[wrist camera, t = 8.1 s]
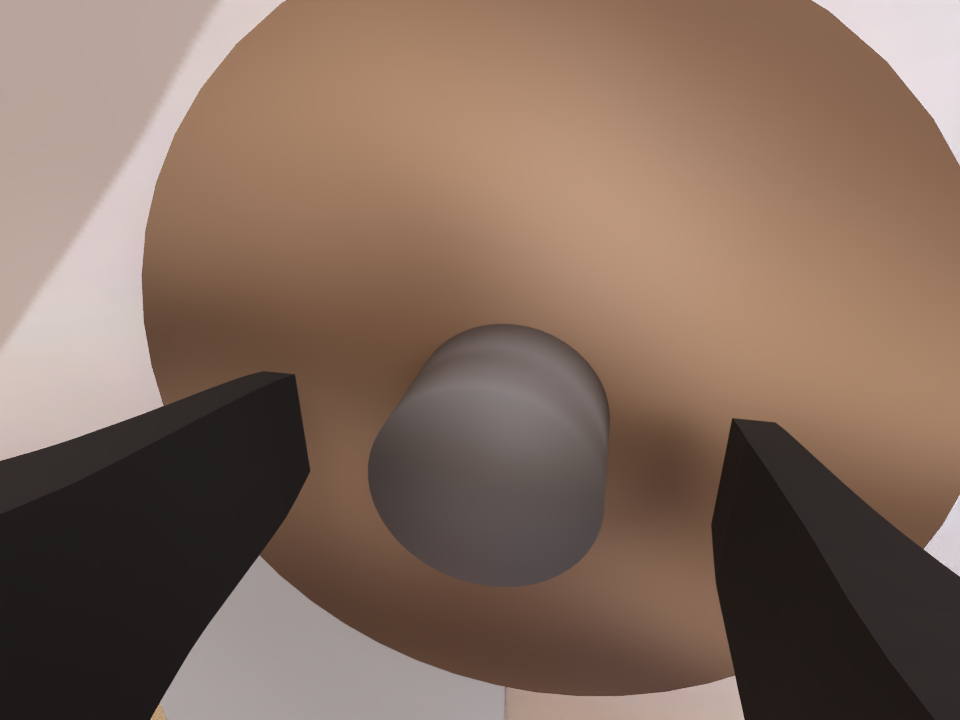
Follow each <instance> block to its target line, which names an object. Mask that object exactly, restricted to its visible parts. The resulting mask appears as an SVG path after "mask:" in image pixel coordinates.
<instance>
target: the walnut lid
mask: <svg viewBox="0 0 960 720" xmlns="http://www.w3.org/2000/svg"><path fill="white" fill-rule="evenodd" d="M142 290H143V311H144V324H145V330H146V336H147V342H148V347H149V353H150V359H151V365H152V368H153V371H154V375H155V378H156V381H157V385H158V388H159V392H160V395H161V398H162V402H163V405H164V406H165V405H168V404H171V403H173V402H176V401H178V400H181V399H184V398H186V397H189V396H191V395H194V394H196V393H199V392H202V391H204V390H207V389H209V388H212V387H215V386H218V385H220V384H223V383H226V382H229V381H231V380H234V379H237V378H240V377H243V376H247V375H250V374H254V373H258V372H262V371H268V372H278V373H288V374H295V377H296V383H297V389H298V396H299V402H300V408H301V415H302V421H303V427H304V433H305V440H306V446H307V452H308V459H309V465H310V473H309V475H308V477H307V479H306V481H305V483H304V485H303V487H302V489H301V491H300V493H299V495H298V497H297V499H296V501H295V502H294V504H293V506H292V508H291V510H290V511H289V513H288V515H287V517H286V519H285V520H284V521H283V523H282V524H281V526H280V527H279V529H278V530H277V531H276V533H275V534H274V536H273V537H272V538H271V540H270V541H269V543H268V544H267V545H266V547H265V548H264V549H263V551H262V552H261V554H260V556H261V557H262V558H263V559H264V560H265V561H266V562H267V563H268V564H269V565H270V566H271V567H272V568H273V569H274V570H275V571H276V572H277V573H278V574H279V575H280V576H281V577H283V578H284V579H285V580H286V581H287V582H289V583H290V584H291V585H292V586H294V587H295V588H296V589H297V590H298V591H300V592H301V593H302V594H303V595H305V596H306V597H307V598H308V599H309V600H311V601H312V602H314V603H315V604H316V605H318V606H319V607H321V608H322V609H324V610H325V611H327V612H328V613H330V614H331V615H333V616H334V617H336V618H337V619H338V620H340V621H341V622H343V623H344V624H346V625H348V626H350V627H351V628H353V629H355V630H357V631H359V632H360V633H362V634H364V635H366V636H367V637H369V638H371V639H373V640H374V641H376V642H378V643H380V644H382V645H384V646H386V647H389V648H391V649H393V650H395V651H397V652H399V653H402V654H404V655H406V656H408V657H410V658H413V659H415V660H417V661H420V662H423V663H425V664H428V665H431V666H434V667H437V668H439V669H442V670H445V671H448V672H450V673H453V674H456V675H460V676H464V677H468V678H471V679H475V680H479V681H483V682H486V683H490V684H494V685H499V686H504V687H510V688H516V689H521V690H527V691H533V692H541V693H552V694H563V695H574V696H624V695H635V694H646V693H656V692H666V691H671V690H676V689H681V688H686V687H692V686H697V685H702V684H707V683H711V682H714V681H717V680H721V679H724V678H727V677H731V676H734V675H735V672H734V668H733V663H732V658H731V654H730V649H729V644H728V640H727V635H726V631H725V626H724V621H723V616H722V612H721V607H720V602H719V597H718V592H717V587H716V580H715V569H714V558H713V544H712V530H711V523H712V518H713V513H714V508H715V503H716V498H717V493H718V488H719V483H720V478H721V473H722V467H723V462H724V457H725V452H726V447H727V442H728V437H729V432H730V427H731V422H732V418H737V419H747V420H757V421H767V422H776V423H777V424H778V425H780V426H781V427H782V428H783V429H785V430H786V431H787V432H788V433H789V434H790V435H791V436H793V437H794V438H795V439H796V440H797V441H798V442H799V443H800V444H801V445H802V446H803V447H805V448H806V449H807V450H808V451H809V452H810V453H811V454H812V455H813V456H814V457H815V458H817V459H818V460H819V461H820V462H821V463H822V464H823V465H824V466H825V467H826V468H827V469H828V470H830V471H831V472H832V473H833V474H834V475H835V476H836V477H837V478H838V479H840V480H841V481H842V482H843V483H844V484H845V485H846V486H847V487H849V488H850V489H851V490H852V491H853V492H854V493H855V494H856V495H858V496H859V497H860V498H861V499H862V500H863V501H865V502H866V503H867V504H868V505H869V506H870V507H872V508H873V509H874V510H875V511H876V512H877V513H879V514H880V515H881V516H882V517H883V518H885V519H886V520H887V521H888V522H889V523H891V524H892V525H893V526H894V527H896V528H897V529H898V530H899V531H901V532H902V533H903V534H904V535H906V536H907V537H908V538H910V539H911V540H912V541H913V542H915V543H916V544H917V545H918V546H920V547H921V548H922V549H924V548H925V546H926V545H927V544H928V543H929V541H930V540H931V539H932V537H933V536H934V535H935V534H936V532H937V531H938V530H939V529H940V527H941V526H942V525H943V523H944V521H945V519H946V518H947V516H948V514H949V512H950V511H951V509H952V507H953V505H954V503H955V502H956V500H957V498H958V496H959V495H960V166H959V164H958V162H957V160H956V158H955V157H954V155H953V153H952V151H951V149H950V148H949V146H948V144H947V142H946V141H945V139H944V137H943V135H942V133H941V132H940V130H939V128H938V126H937V124H936V123H935V121H934V119H933V118H932V117H931V115H930V114H929V113H928V112H927V110H926V109H925V108H924V107H923V106H922V104H921V103H920V102H919V101H918V99H917V98H916V97H915V96H914V95H913V93H912V92H911V91H910V90H909V88H908V87H907V86H906V85H905V83H904V82H903V81H902V80H901V79H900V77H899V76H898V75H897V74H896V72H895V71H894V70H893V69H892V68H891V66H890V65H889V64H888V63H887V61H885V60H884V59H883V58H882V57H881V56H880V55H879V54H877V53H876V52H875V51H874V50H873V49H872V48H871V47H869V46H868V45H867V44H866V43H865V42H864V41H863V40H861V39H860V38H859V37H858V36H857V35H856V34H855V33H853V32H852V31H851V30H850V29H849V28H848V27H846V26H845V25H844V24H843V23H842V22H841V21H840V20H838V19H837V18H836V17H835V16H834V15H833V14H832V13H830V12H829V11H828V10H826V9H825V8H823V7H821V6H820V5H818V4H816V3H815V2H813V1H812V0H286V1H285V2H283V3H282V4H280V5H279V6H278V7H277V8H276V9H275V10H274V11H273V12H271V13H270V14H269V15H268V16H267V17H266V18H265V19H264V20H263V21H261V22H260V23H259V24H258V25H257V26H256V27H255V28H254V29H253V30H252V31H250V32H249V33H248V34H247V35H246V36H245V37H244V38H243V39H242V40H241V41H239V42H238V43H237V44H236V45H235V47H234V48H233V49H232V50H231V52H230V53H229V54H228V55H227V57H226V58H225V59H224V60H223V62H222V63H221V64H220V65H219V67H218V68H217V69H216V70H215V72H214V73H213V74H212V75H211V77H210V78H209V79H208V80H207V82H206V83H205V84H204V85H203V87H202V88H201V90H200V91H199V93H198V95H197V97H196V98H195V100H194V102H193V104H192V105H191V107H190V109H189V111H188V112H187V114H186V116H185V118H184V119H183V121H182V123H181V125H180V126H179V128H178V130H177V132H176V133H175V135H174V138H173V140H172V143H171V146H170V148H169V151H168V153H167V156H166V159H165V161H164V164H163V166H162V169H161V172H160V174H159V177H158V179H157V182H156V186H155V191H154V195H153V200H152V204H151V208H150V213H149V217H148V222H147V226H146V232H145V244H144V256H143V268H142Z"/></svg>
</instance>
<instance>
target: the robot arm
mask: <svg viewBox="0 0 960 720" xmlns="http://www.w3.org/2000/svg"><path fill="white" fill-rule="evenodd" d="M309 473H310V465H309V459H308V452H307V446H306V440H305V433H304V427H303V421H302V415H301V408H300V402H299V396H298V389H297V383H296V377H295V374H288V373H278V372H268V371H262V372H258V373H254V374H250V375H247V376H243V377H240V378H237V379H234V380H231V381H229V382H226V383H223V384H220V385H218V386H215V387H212V388H209V389H207V390H204V391H202V392H199V393H196V394H194V395H191V396H189V397H186V398H184V399H181V400H178V401H176V402H173V403H171V404H168V405H165V406H163V407H160V408H158V409H155V410H152V411H150V412H147V413H145V414H142V415H139V416H137V417H134V418H131V419H128V420H125V421H123V422H120V423H117V424H114V425H111V426H109V427H106V428H103V429H100V430H97V431H95V432H92V433H89V434H86V435H83V436H81V437H78V438H75V439H72V440H69V441H66V442H63V443H60V444H57V445H53V446H50V447H47V448H44V449H40V450H37V451H34V452H30V453H27V454H23V455H20V456H16V457H13V458H9V459H6V460H2V461H0V720H150V719H151V717H152V715H153V714H154V712H155V710H156V708H157V706H158V705H159V703H160V701H161V700H162V698H163V696H164V695H165V693H166V691H167V690H168V688H169V686H170V685H171V683H172V681H173V679H174V678H175V676H176V674H177V673H178V671H179V669H180V668H181V666H182V664H183V663H184V661H185V659H186V658H187V656H188V654H189V653H190V651H191V649H192V648H193V646H194V645H195V643H196V642H197V641H198V639H199V638H200V636H201V635H202V633H203V632H204V630H205V629H206V627H207V626H208V624H209V623H210V622H211V620H212V619H213V618H214V616H215V615H216V613H217V612H218V611H219V609H220V608H221V607H222V605H223V604H224V603H225V601H226V600H227V598H228V597H229V596H230V594H231V593H232V592H233V590H234V589H235V588H236V586H237V585H238V584H239V582H240V581H241V579H242V578H243V577H244V575H245V574H246V573H247V571H248V570H249V569H250V567H251V566H252V565H253V563H254V562H255V560H256V559H257V558H258V556H259V555H260V554H261V552H262V551H263V549H264V548H265V547H266V545H267V544H268V543H269V541H270V540H271V538H272V537H273V536H274V534H275V533H276V531H277V530H278V529H279V527H280V526H281V524H282V523H283V521H284V520H285V519H286V517H287V515H288V513H289V511H290V510H291V508H292V506H293V504H294V502H295V501H296V499H297V497H298V495H299V493H300V491H301V489H302V487H303V485H304V483H305V481H306V479H307V477H308V475H309ZM711 530H712V544H713V558H714V569H715V580H716V587H717V592H718V597H719V602H720V607H721V612H722V616H723V621H724V626H725V631H726V635H727V640H728V644H729V649H730V654H731V658H732V663H733V668H734V672H735V677H736V681H737V686H738V691H739V695H740V700H741V704H742V709H743V714H744V718H745V720H960V577H959V576H958V575H957V574H955V573H954V572H952V571H951V570H950V569H948V568H947V567H946V566H944V565H943V564H942V563H940V562H939V561H938V560H936V559H935V558H934V557H932V556H931V555H930V554H929V553H927V552H926V551H925V550H924V549H922V548H921V547H920V546H918V545H917V544H916V543H915V542H913V541H912V540H911V539H910V538H908V537H907V536H906V535H904V534H903V533H902V532H901V531H899V530H898V529H897V528H896V527H894V526H893V525H892V524H891V523H889V522H888V521H887V520H886V519H885V518H883V517H882V516H881V515H880V514H879V513H877V512H876V511H875V510H874V509H873V508H872V507H870V506H869V505H868V504H867V503H866V502H865V501H863V500H862V499H861V498H860V497H859V496H858V495H856V494H855V493H854V492H853V491H852V490H851V489H850V488H849V487H847V486H846V485H845V484H844V483H843V482H842V481H841V480H840V479H838V478H837V477H836V476H835V475H834V474H833V473H832V472H831V471H830V470H828V469H827V468H826V467H825V466H824V465H823V464H822V463H821V462H820V461H819V460H818V459H817V458H815V457H814V456H813V455H812V454H811V453H810V452H809V451H808V450H807V449H806V448H805V447H803V446H802V445H801V444H800V443H799V442H798V441H797V440H796V439H795V438H794V437H793V436H791V435H790V434H789V433H788V432H787V431H786V430H785V429H783V428H782V427H781V426H780V425H778V424H777V423H776V422H767V421H757V420H747V419H737V418H732V422H731V427H730V432H729V437H728V442H727V447H726V452H725V457H724V462H723V467H722V473H721V478H720V483H719V488H718V493H717V498H716V503H715V508H714V513H713V518H712V523H711Z"/></svg>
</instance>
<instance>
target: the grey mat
mask: <svg viewBox="0 0 960 720" xmlns="http://www.w3.org/2000/svg"><path fill="white" fill-rule="evenodd" d="M505 701H506V687H504V686H499V685H494V684H490V683H486V682H483V681H479V680H475V679H471V678H468V677H464V676H460V675H456V674H453V673H450V672H448V671H445V670H442V669H439V668H437V667H434V666H431V665H428V664H425V663H423V662H420V661H417V660H415V659H413V658H410V657H408V656H406V655H404V654H402V653H399V652H397V651H395V650H393V649H391V648H389V647H386V646H384V645H382V644H380V643H378V642H376V641H374V640H373V639H371V638H369V637H367V636H366V635H364V634H362V633H360V632H359V631H357V630H355V629H353V628H351V627H350V626H348V625H346V624H344V623H343V622H341V621H340V620H338V619H337V618H336V617H334V616H333V615H331V614H330V613H328V612H327V611H325V610H324V609H322V608H321V607H319V606H318V605H316V604H315V603H314V602H312V601H311V600H309V599H308V598H307V597H306V596H305V595H303V594H302V593H301V592H300V591H298V590H297V589H296V588H295V587H294V586H292V585H291V584H290V583H289V582H287V581H286V580H285V579H284V578H283V577H281V576H280V575H279V574H278V573H277V572H276V571H275V570H274V569H273V568H272V567H271V566H270V565H269V564H268V563H267V562H266V561H265V560H264V559H263V558H262V557H261V556H260V555H259V556H258V558H257V559H256V560H255V562H254V563H253V565H252V566H251V567H250V569H249V570H248V571H247V573H246V574H245V575H244V577H243V578H242V579H241V581H240V582H239V584H238V585H237V586H236V588H235V589H234V590H233V592H232V593H231V594H230V596H229V597H228V598H227V600H226V601H225V603H224V604H223V605H222V607H221V608H220V609H219V611H218V612H217V613H216V615H215V616H214V618H213V619H212V620H211V622H210V623H209V624H208V626H207V627H206V629H205V630H204V632H203V633H202V635H201V636H200V638H199V639H198V641H197V642H196V643H195V645H194V646H193V648H192V649H191V651H190V653H189V654H188V656H187V658H186V659H185V661H184V663H183V664H182V666H181V668H180V669H179V671H178V673H177V674H176V676H175V678H174V679H173V681H172V683H171V685H170V686H169V688H168V690H167V691H166V693H165V695H164V696H163V698H162V700H161V701H160V703H161V706H162V708H163V711H164V714H165V717H166V720H505Z"/></svg>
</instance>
